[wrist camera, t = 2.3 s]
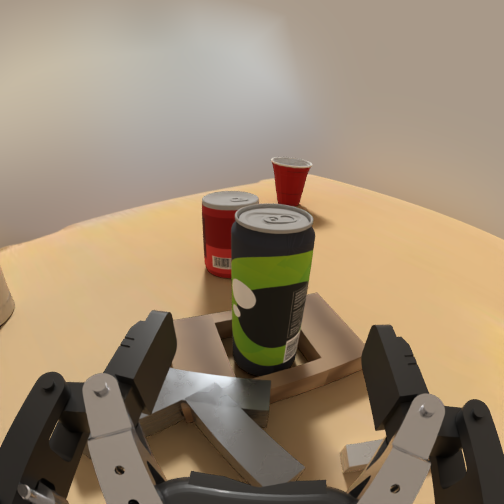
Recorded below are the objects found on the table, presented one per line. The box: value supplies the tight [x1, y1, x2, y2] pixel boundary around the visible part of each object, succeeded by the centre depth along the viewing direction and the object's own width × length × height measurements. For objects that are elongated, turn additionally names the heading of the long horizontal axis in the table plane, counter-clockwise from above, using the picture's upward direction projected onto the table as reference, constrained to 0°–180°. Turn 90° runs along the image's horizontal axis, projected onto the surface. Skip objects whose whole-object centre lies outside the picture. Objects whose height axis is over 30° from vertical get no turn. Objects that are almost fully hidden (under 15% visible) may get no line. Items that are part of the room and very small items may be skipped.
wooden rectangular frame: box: [172, 293, 365, 423], centre depth 26 cm, size 18×11×2 cm, turn 110°
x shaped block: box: [83, 368, 305, 487], centre depth 18 cm, size 10×18×3 cm, turn 84°
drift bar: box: [340, 439, 383, 473], centre depth 16 cm, size 8×2×2 cm, turn 88°
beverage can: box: [231, 204, 315, 376], centre depth 24 cm, size 6×6×15 cm
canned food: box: [202, 191, 259, 278], centre depth 41 cm, size 8×8×11 cm
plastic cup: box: [271, 157, 312, 206], centre depth 72 cm, size 11×11×12 cm
